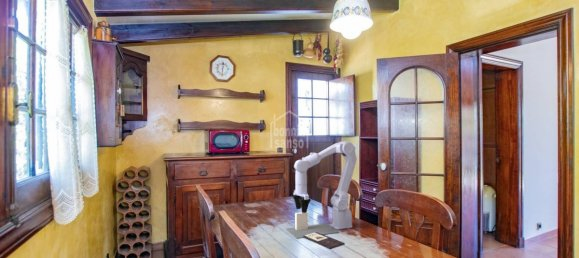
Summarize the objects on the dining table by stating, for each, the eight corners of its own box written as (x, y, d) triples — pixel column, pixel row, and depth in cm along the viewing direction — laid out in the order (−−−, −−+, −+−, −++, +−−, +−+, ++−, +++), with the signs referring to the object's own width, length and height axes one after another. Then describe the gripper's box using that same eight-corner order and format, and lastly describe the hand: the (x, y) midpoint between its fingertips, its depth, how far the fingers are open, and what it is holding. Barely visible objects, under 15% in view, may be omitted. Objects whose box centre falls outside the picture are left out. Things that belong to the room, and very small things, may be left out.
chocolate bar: (330, 248, 127) (302, 236, 141) (330, 250, 127) (302, 238, 141) (344, 242, 132) (316, 231, 147) (344, 245, 132) (316, 233, 147)
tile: (306, 227, 154) (305, 211, 154) (307, 228, 152) (307, 212, 152) (295, 228, 152) (294, 212, 152) (296, 230, 150) (296, 214, 150)
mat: (325, 224, 160) (325, 223, 160) (338, 232, 147) (338, 231, 147) (286, 229, 152) (286, 228, 152) (296, 238, 139) (296, 237, 139)
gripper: (288, 182, 157) (288, 208, 157) (299, 187, 144) (299, 215, 144) (301, 181, 160) (301, 206, 160) (312, 186, 146) (312, 214, 146)
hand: (301, 210), depth 152 cm, fingers open, 7 cm apart
